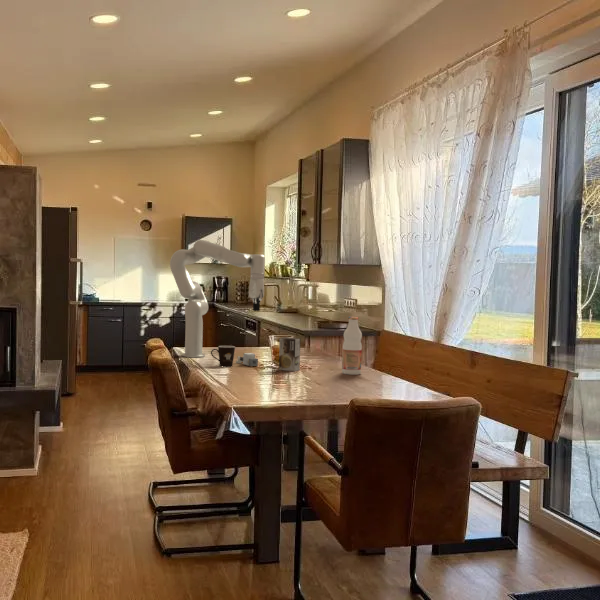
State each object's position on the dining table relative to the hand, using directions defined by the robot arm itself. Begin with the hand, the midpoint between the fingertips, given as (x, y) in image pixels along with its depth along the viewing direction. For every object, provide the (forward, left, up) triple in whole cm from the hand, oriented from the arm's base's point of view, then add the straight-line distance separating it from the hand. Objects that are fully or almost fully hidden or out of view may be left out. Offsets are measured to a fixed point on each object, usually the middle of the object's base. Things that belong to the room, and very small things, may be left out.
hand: (256, 310), depth 394 cm
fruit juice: (+58, +24, -27) cm, 68 cm away
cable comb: (+8, -12, -27) cm, 31 cm away
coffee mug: (+16, -26, -27) cm, 41 cm away
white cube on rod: (+17, -12, -27) cm, 34 cm away
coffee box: (+38, 0, -27) cm, 47 cm away
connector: (+22, -12, -27) cm, 37 cm away
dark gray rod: (+15, -12, -27) cm, 33 cm away
